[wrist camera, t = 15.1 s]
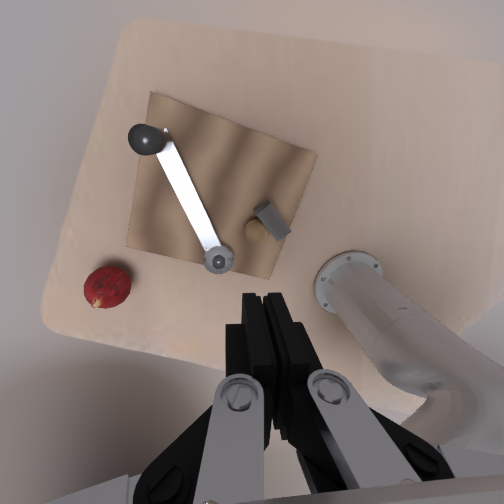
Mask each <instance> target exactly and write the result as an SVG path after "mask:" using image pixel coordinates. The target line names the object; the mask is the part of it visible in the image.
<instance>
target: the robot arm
mask: <svg viewBox="0 0 504 504" xmlns="http://www.w3.org/2000/svg"><path fill="white" fill-rule="evenodd" d="M314 293H315V297H316V299H317V301H318V303H319V304H320V305H321V307H322V308H323V309H325V310H326V311H328V312H330V313H333V314H337V315H338V316H339V317H340V319H341V320H342V322H343V323H344V324H345V326H346V327H347V329H348V330H349V331H350V333H351V334H352V336H353V337H354V338H355V340H356V341H357V343H358V344H359V345H360V347H361V348H362V350H363V351H364V352H365V354H366V355H367V357H368V358H369V359H370V361H371V362H372V363H373V365H374V366H375V368H376V369H377V370H378V372H379V373H380V374H381V375H382V376H383V378H385V379H386V380H387V381H388V382H389V383H390V384H392V385H393V386H395V387H397V388H399V389H401V390H403V391H405V392H408V393H411V394H414V395H417V396H421V397H424V398H427V399H426V401H425V403H424V404H423V405H421V406H420V407H419V408H418V409H417V410H416V412H415V413H413V414H412V415H411V416H410V417H408V418H407V419H406V420H405V421H403V422H402V423H401V424H400V425H398V424H396V423H395V422H393V421H391V420H390V419H388V418H386V417H385V416H383V415H381V414H380V413H378V412H376V411H375V410H373V409H371V408H369V407H368V406H367V405H366V403H365V402H364V400H363V399H362V398H361V396H360V395H359V394H358V392H357V391H356V389H355V388H354V387H353V385H352V384H351V383H350V382H349V380H348V379H347V378H346V377H344V376H343V375H341V374H340V373H338V372H335V371H333V370H328V369H323V367H322V365H321V363H320V361H319V358H318V356H317V354H316V352H315V350H314V348H313V345H312V343H311V341H310V339H309V337H308V334H307V332H306V330H305V328H304V326H303V324H302V323H301V322H293V320H292V318H291V315H290V313H289V311H288V308H287V306H286V303H285V301H284V298H283V296H282V294H281V293H280V292H279V293H268V296H264V297H263V305H262V301H261V297H260V296H256V294H255V293H243V295H242V321H241V324H226V378H225V379H223V380H222V381H221V382H220V384H219V385H218V387H217V389H216V392H215V397H214V402H213V405H211V406H210V407H209V408H208V409H207V410H206V411H205V412H204V413H203V414H202V415H201V416H200V417H199V418H198V419H197V420H196V421H195V422H194V423H193V424H192V425H191V426H189V428H187V429H186V430H185V431H184V432H183V433H182V434H181V435H180V436H179V437H178V438H177V439H176V440H175V441H174V442H173V443H172V444H171V445H170V446H168V448H166V449H165V450H164V451H163V452H162V453H161V454H160V455H159V456H158V457H157V458H156V459H155V460H154V461H153V462H152V463H151V464H150V465H149V466H148V467H147V468H146V469H145V471H144V472H143V473H142V474H139V475H137V476H134V477H131V478H128V475H124V476H121V477H119V478H115V479H113V480H110V481H107V482H104V483H101V484H98V485H95V486H92V487H90V488H87V489H84V490H81V491H78V492H75V493H72V494H70V495H67V496H64V497H61V498H58V499H55V500H52V501H49V502H46V503H44V504H504V367H503V366H501V365H499V364H497V363H496V362H494V361H493V360H491V359H490V358H489V357H487V356H485V355H484V354H482V353H481V352H479V351H478V350H476V349H475V348H474V347H472V346H471V345H470V344H468V343H467V342H466V341H464V340H463V339H461V338H460V337H459V336H458V335H456V334H455V333H454V332H452V331H451V330H450V329H448V328H447V327H446V326H444V325H443V324H442V323H441V322H439V321H438V320H437V319H436V318H434V317H433V316H431V315H430V314H429V313H428V312H426V311H425V310H424V309H423V308H421V307H420V306H419V305H418V304H416V303H415V302H414V301H413V300H411V299H410V298H409V297H408V296H406V295H405V294H404V293H403V292H401V291H400V290H399V289H398V288H396V287H395V286H394V285H392V284H391V283H390V282H389V281H387V280H386V279H385V278H384V277H383V270H382V267H381V265H380V263H379V262H378V261H377V260H376V259H375V258H374V257H372V256H371V255H369V254H367V253H364V252H359V251H351V252H346V253H342V254H340V255H338V256H336V257H334V258H332V259H331V260H329V261H328V262H327V263H326V264H325V265H324V266H323V267H322V269H321V270H320V271H319V273H318V275H317V277H316V280H315V284H314ZM272 419H273V425H274V429H275V430H277V429H280V434H281V439H282V440H288V442H289V443H290V444H291V445H292V446H294V447H295V448H296V453H297V457H298V460H299V463H300V466H301V468H302V471H303V474H304V476H305V479H306V481H307V484H308V487H309V489H310V492H311V494H308V495H300V496H291V497H282V498H274V499H266V500H264V451H265V449H266V448H267V446H268V445H269V439H270V430H271V422H272Z"/></svg>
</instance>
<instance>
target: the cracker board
mask: <svg viewBox="0 0 504 504" xmlns="http://www.w3.org/2000/svg"><path fill="white" fill-rule="evenodd" d="M145 125H149V126H153V127H156V128H160V129H165V128H167V129H168V130H169V132H170V134H171V136H172V139H173V141H174V143H175V145H176V147H177V149H178V151H179V154H180V156H181V158H182V160H183V162H184V164H185V167H186V169H187V171H188V173H189V175H190V177H191V179H192V182H193V184H194V186H195V188H196V190H197V192H198V194H199V197H200V199H201V201H202V203H203V205H204V207H205V210H206V212H207V214H208V216H209V218H210V220H211V222H212V225H213V227H214V229H215V231H216V233H217V235H218V238H219V240H220V242H221V243H223V244H225V245H227V246H229V247H230V249H231V250H232V252H233V257H234V263H233V266H232V267H231V269H230V270H229V271H234V272H238V273H242V274H247V275H251V276H255V277H260V278H264V279H268V280H269V279H270V276H271V273H272V271H273V268H274V266H275V263H276V261H277V258H278V256H279V253H280V251H281V248H282V245H283V243H284V240H285V238H286V235H287V234H289V233H290V232H291V230H290V229H289V228H290V225H291V223H292V220H293V218H294V215H295V212H296V210H297V207H298V205H299V202H300V200H301V197H302V195H303V192H304V190H305V187H306V184H307V182H308V179H309V177H310V174H311V172H312V169H313V167H314V164H315V162H316V159H317V156H318V154H315V153H313V152H310V151H307V150H305V149H302V148H299V147H297V146H294V145H292V144H289V143H286V142H284V141H281V140H278V139H276V138H273V137H270V136H268V135H265V134H262V133H260V132H257V131H255V130H252V129H249V128H247V127H244V126H241V125H239V124H236V123H233V122H231V121H228V120H225V119H223V118H220V117H218V116H215V115H212V114H210V113H207V112H204V111H202V110H199V109H196V108H194V107H191V106H188V105H186V104H183V103H181V102H178V101H175V100H173V99H170V98H167V97H165V96H162V95H159V94H157V93H154V92H151V91H150V98H149V104H148V110H147V116H146V123H145ZM126 247H129V248H133V249H138V250H142V251H146V252H151V253H155V254H160V255H164V256H168V257H173V258H177V259H181V260H186V261H190V262H194V263H199V264H203V265H204V262H203V258H204V252H205V250H204V248H203V246H202V244H201V242H200V240H199V238H198V236H197V234H196V232H195V230H194V228H193V226H192V224H191V222H190V220H189V218H188V216H187V214H186V212H185V210H184V208H183V206H182V204H181V202H180V200H179V198H178V196H177V194H176V192H175V190H174V188H173V186H172V184H171V182H170V180H169V178H168V176H167V174H166V172H165V170H164V168H163V166H162V164H161V162H160V160H159V158H158V156H157V154H153V155H148V156H144V155H140V160H139V167H138V173H137V179H136V185H135V192H134V198H133V204H132V210H131V217H130V223H129V229H128V235H127V242H126Z"/></svg>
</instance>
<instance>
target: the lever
mask: <svg viewBox="0 0 504 504" xmlns="http://www.w3.org/2000/svg"><path fill="white" fill-rule="evenodd" d="M128 141H129V144H130V146H131V148H132V149H133V150H134V151H135V152H136V153H138V154H140V155H144V156H148V155H153V154H157V156H158V158H159V160H160V162H161V164H162V166H163V168H164V170H165V172H166V174H167V176H168V178H169V180H170V182H171V184H172V186H173V188H174V190H175V192H176V194H177V196H178V198H179V200H180V202H181V204H182V206H183V208H184V210H185V212H186V214H187V216H188V218H189V220H190V222H191V224H192V226H193V228H194V230H195V232H196V234H197V236H198V238H199V240H200V242H201V244H202V246H203V248H204V250H205V252H204V258H203V262H204V266H205V267H206V269H207V270H208V271H210V272H212V273H215V274H222V273H225V272H227V271H229V270H230V269H231V267H232V266H233V263H234V257H233V252H232V250H231V249H230V247H229V246H227V245H225V244H223V243H221V242H220V240H219V238H218V235H217V233H216V231H215V229H214V227H213V225H212V222H211V220H210V218H209V216H208V214H207V212H206V210H205V207H204V205H203V203H202V201H201V199H200V197H199V194H198V192H197V190H196V188H195V186H194V184H193V182H192V179H191V177H190V175H189V173H188V171H187V169H186V167H185V164H184V162H183V160H182V158H181V156H180V154H179V151H178V149H177V147H176V145H175V143H174V141H173V139H172V136H171V134H170V132H169V130H168V129H167V128H165V129H160V128H156V127H153V126H149V125H145V124H137V125H134V126H133V127H132V128H131V129H130V131H129V133H128Z"/></svg>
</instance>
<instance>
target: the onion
mask: <svg viewBox="0 0 504 504" xmlns="http://www.w3.org/2000/svg"><path fill="white" fill-rule="evenodd" d="M130 289H131V282H130V278H129V276H128V275H127V274H126V272H125V271H123V270H122V269H120V268H118V267H113V266H106V267H101V268H99V269H97V270H95V271H94V272H93V273H91V274H90V275H89V276H88V278H87V280H86V282H85V284H84V295H85V297H86V300H87V301H88V302H89V303H90V304H91V306H92V307H93V308H96V307H98V308H105V309H106V308H111V307H115V306H117V305H119V304H121V303H122V302H124V301H125V299H126V298H127V297H128V295H129V294H130Z"/></svg>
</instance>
